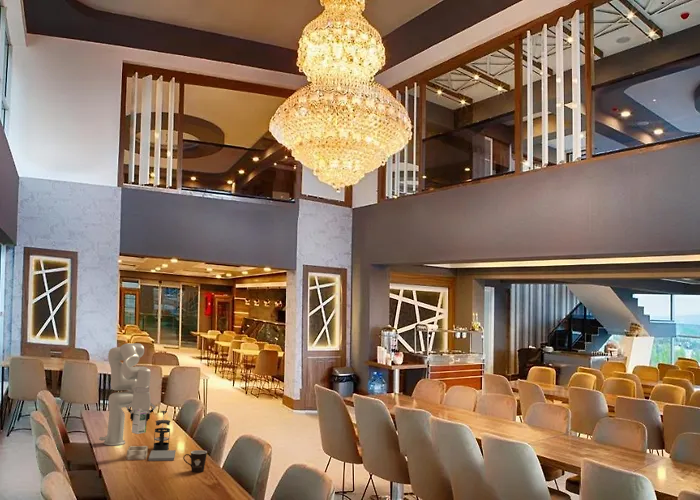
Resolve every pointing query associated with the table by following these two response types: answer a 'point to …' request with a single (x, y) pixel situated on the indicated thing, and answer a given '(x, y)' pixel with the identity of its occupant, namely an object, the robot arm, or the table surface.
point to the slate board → (162, 455)
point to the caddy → (137, 452)
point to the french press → (162, 435)
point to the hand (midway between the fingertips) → (139, 420)
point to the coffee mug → (197, 460)
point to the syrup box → (139, 421)
